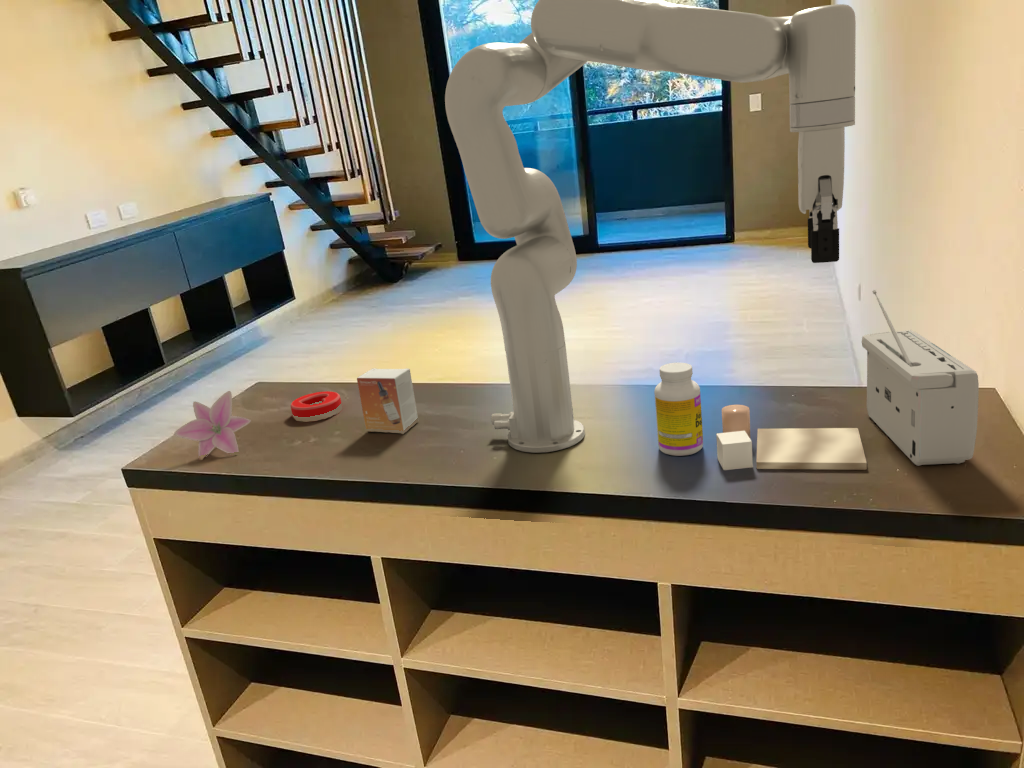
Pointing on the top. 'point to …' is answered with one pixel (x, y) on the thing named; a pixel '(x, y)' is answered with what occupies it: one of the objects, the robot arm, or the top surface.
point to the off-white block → (734, 450)
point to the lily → (214, 426)
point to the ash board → (810, 449)
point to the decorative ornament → (304, 408)
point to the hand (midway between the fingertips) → (822, 254)
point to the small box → (387, 399)
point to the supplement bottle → (678, 411)
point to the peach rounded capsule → (736, 419)
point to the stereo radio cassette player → (921, 396)
